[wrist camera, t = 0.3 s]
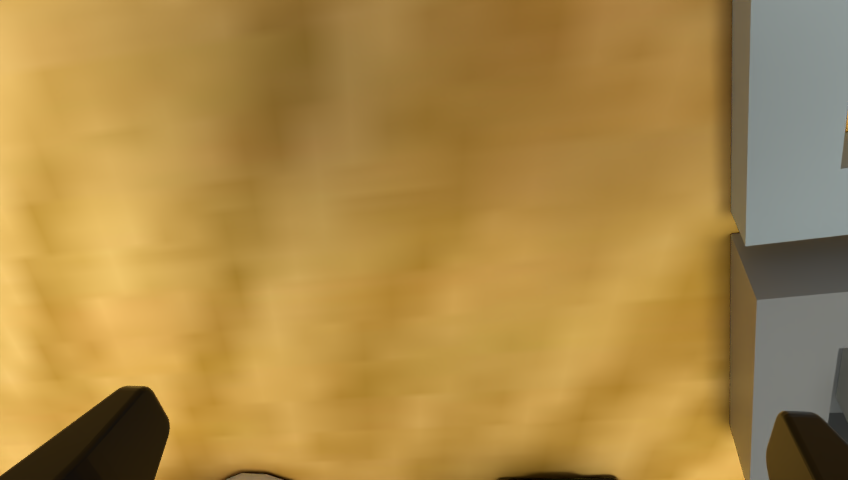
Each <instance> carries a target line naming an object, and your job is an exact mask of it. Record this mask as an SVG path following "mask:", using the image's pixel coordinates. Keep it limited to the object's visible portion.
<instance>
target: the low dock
mask: <svg viewBox="0 0 848 480" xmlns="http://www.w3.org/2000/svg"><path fill="white" fill-rule="evenodd" d="M847 111H848V0H732V127H731V213H732V215H733V218H734V220H735V222H736V225H737V227H738V230H739V232H740V234H741V237H742V239H743V242H744V244H745V246H752V245H761V244H770V243H779V242H788V241H797V240H805V239H814V238H823V237H832V236H841V235H848V132H845V128H846V119H847Z"/></svg>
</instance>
